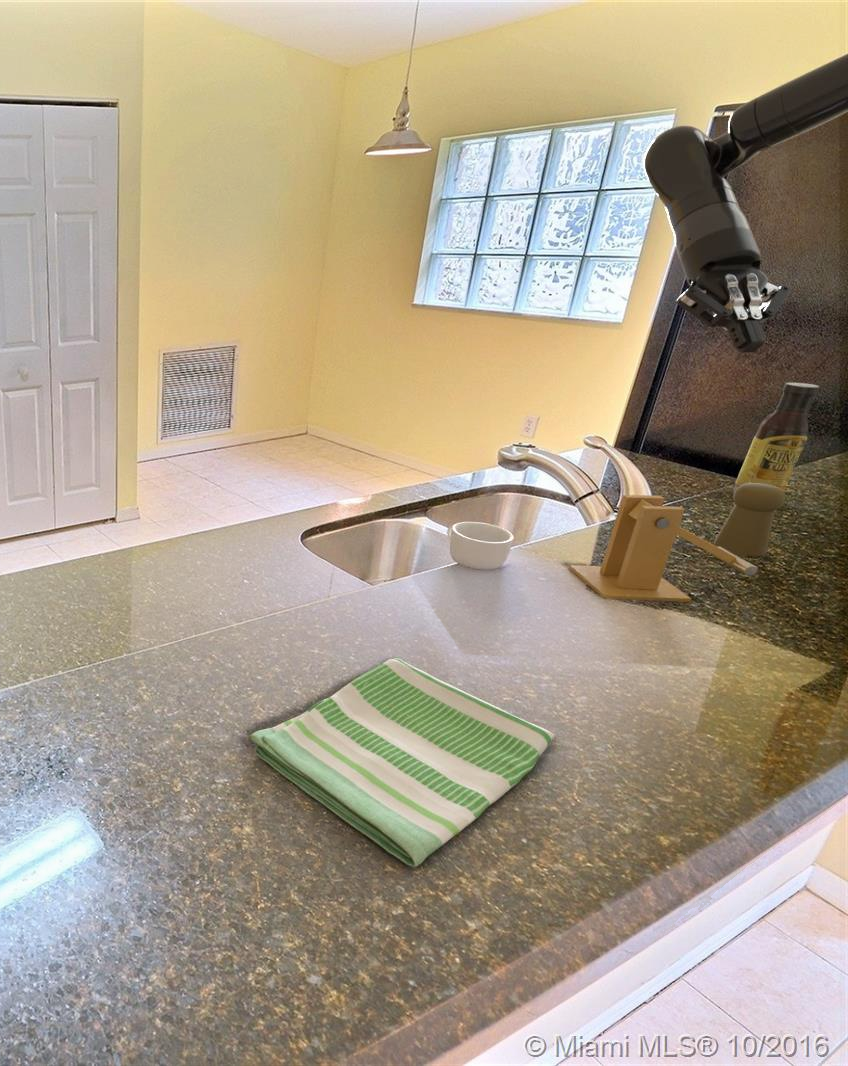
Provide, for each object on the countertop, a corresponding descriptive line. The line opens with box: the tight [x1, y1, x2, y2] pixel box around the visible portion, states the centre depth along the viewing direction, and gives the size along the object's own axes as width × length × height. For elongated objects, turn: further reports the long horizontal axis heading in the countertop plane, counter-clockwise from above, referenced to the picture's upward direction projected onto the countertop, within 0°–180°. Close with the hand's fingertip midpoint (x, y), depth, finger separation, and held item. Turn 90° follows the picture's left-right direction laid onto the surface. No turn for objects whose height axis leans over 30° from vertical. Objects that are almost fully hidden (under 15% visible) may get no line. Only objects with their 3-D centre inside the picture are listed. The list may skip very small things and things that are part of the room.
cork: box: [712, 483, 786, 560], centre depth 101 cm, size 6×6×11 cm
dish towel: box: [249, 657, 555, 868], centre depth 67 cm, size 18×23×3 cm
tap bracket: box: [568, 494, 692, 603], centre depth 93 cm, size 10×9×13 cm
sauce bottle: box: [732, 382, 820, 494], centre depth 120 cm, size 7×6×20 cm
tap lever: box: [628, 500, 759, 577], centre depth 91 cm, size 15×6×2 cm, turn 82°
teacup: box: [446, 521, 515, 571], centre depth 103 cm, size 10×8×5 cm
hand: (752, 348), depth 92 cm, fingers closed
